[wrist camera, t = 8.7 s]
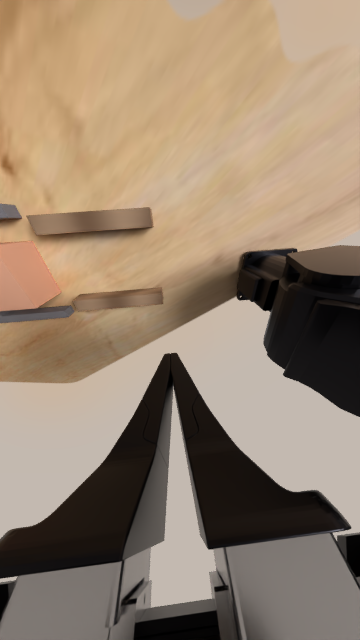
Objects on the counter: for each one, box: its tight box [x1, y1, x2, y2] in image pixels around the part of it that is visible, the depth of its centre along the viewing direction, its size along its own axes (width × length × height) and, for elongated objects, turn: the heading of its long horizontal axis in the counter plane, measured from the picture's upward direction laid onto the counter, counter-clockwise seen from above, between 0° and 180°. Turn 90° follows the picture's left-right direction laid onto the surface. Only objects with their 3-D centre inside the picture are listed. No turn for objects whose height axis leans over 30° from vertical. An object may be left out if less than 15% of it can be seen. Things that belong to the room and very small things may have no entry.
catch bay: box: [0, 204, 74, 323], centre depth 16 cm, size 9×12×2 cm
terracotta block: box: [0, 241, 61, 311], centre depth 15 cm, size 6×6×4 cm
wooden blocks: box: [26, 207, 163, 311], centre depth 16 cm, size 11×10×2 cm
